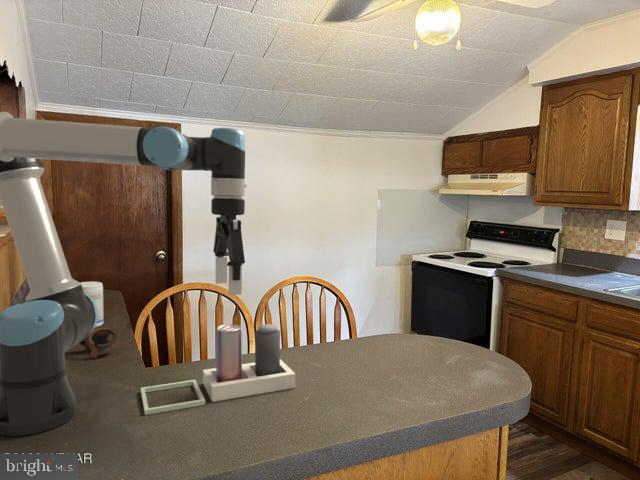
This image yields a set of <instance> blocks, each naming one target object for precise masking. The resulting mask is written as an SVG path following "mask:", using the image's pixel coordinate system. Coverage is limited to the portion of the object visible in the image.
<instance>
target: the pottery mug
mask: <svg viewBox="0 0 640 480" xmlns="http://www.w3.org/2000/svg"><path fill="white" fill-rule="evenodd" d="M110 335H112V336H113V337H112V340H109V339H108V337H109V336H110ZM79 345H80V346H82V347H83V348H84V350H85V351H88V350H89V349H90V350H91V351H90V354H89V356H90V357H91V358H93V359H96V358H97V357H98V356H101V355H104V354H107V353H108V352H109V353H110V352H112V351H113V349H115V348H116V347H117V345H120V341H119V340H118V335H117V333H116V331H115V330H113V328H112V329H111V328H108V327H102V328H101V327H99V328H98V327H97V328H96V329H95V328H94V330H93V331H92V332H91V333H90V334H89V336H88V337H87V338H86V339H84V340H83V341H81V342H80V343H79Z"/></svg>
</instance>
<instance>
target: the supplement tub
mask: <svg viewBox="0 0 640 480" xmlns="http://www.w3.org/2000/svg"><path fill="white" fill-rule="evenodd" d="M80 283H81V285H82V288H83V291H84V293H85V294H86V295H87V296H90V297H91V298H92V299H93V300H94V302H95V303H96V306H97V309H98V321H97V324H96V326H95V328H98V327H101V326H102V325H103V324H104V320H105V319H104V285H103V283H102V282H100V281H82V282H80Z"/></svg>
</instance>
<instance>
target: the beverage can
mask: <svg viewBox="0 0 640 480" xmlns="http://www.w3.org/2000/svg"><path fill="white" fill-rule="evenodd" d="M242 341H243V337H242V328H241V325H238V324H222V325H219V326H218V327H216V332H215V357H216V358H215V360H216V361H215V363H216V366H215V368H216V382H217V383H220V382H227V381H233V380H240V379H242V364H243V363H242V362H243V355H242V354H243V349H242V348H243V342H242Z"/></svg>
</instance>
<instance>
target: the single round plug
mask: <svg viewBox="0 0 640 480" xmlns="http://www.w3.org/2000/svg"><path fill="white" fill-rule="evenodd" d="M280 331H281V330H280V329H278V327H277V325H276V324H270V323H269V324H268V323H265V324H261V325H258V329H256V330H255V331H254V333H255V335H254V339H255V341H254V343H255V346H254V347H255V349H254V350H255V351H254V352H255V354H254V356H255V357H254V358H255V359H254V363H255V374H256V376H257V377H259V376H265V375H272V374H278V373H280V359H281V355H280V353H281V332H280Z"/></svg>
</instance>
